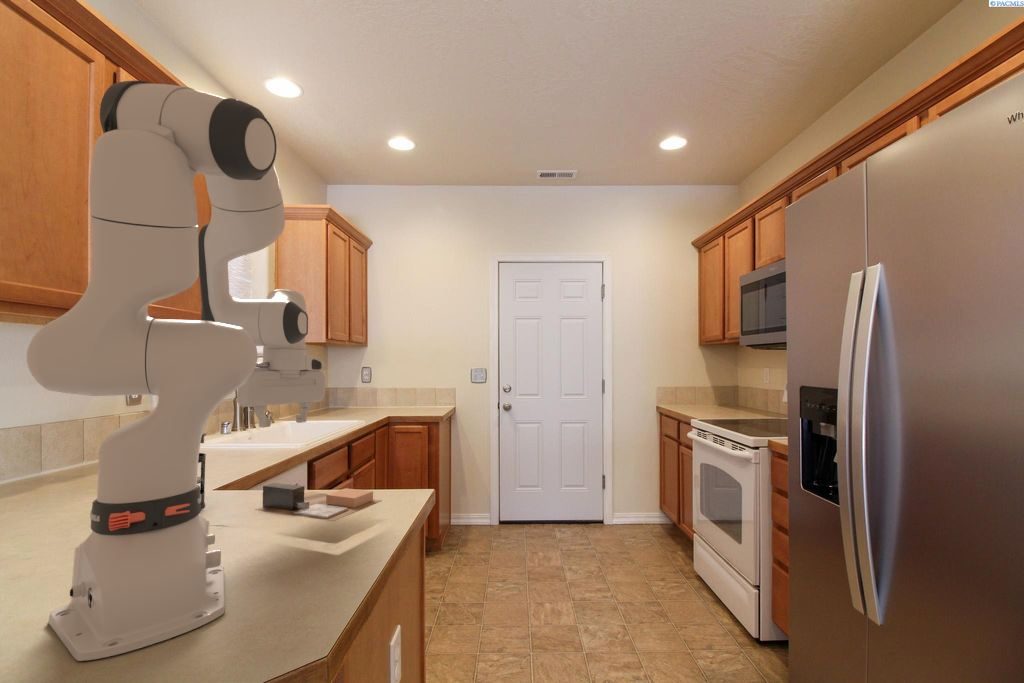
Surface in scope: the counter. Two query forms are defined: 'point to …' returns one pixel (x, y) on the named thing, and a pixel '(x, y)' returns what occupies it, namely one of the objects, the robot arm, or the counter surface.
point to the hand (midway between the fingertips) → (283, 424)
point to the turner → (296, 501)
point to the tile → (349, 497)
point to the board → (319, 499)
